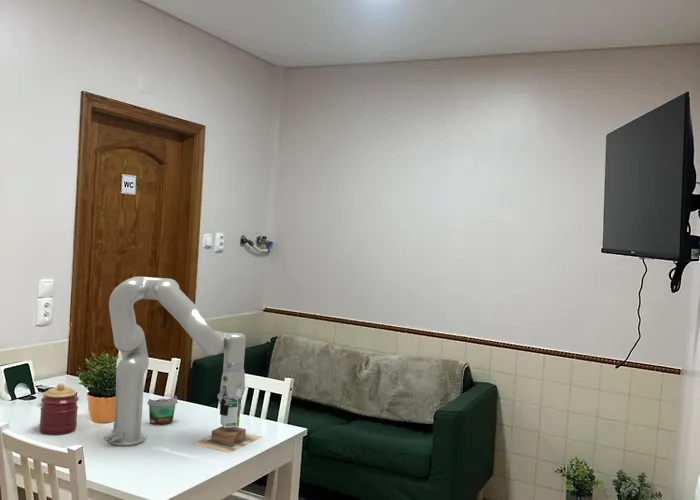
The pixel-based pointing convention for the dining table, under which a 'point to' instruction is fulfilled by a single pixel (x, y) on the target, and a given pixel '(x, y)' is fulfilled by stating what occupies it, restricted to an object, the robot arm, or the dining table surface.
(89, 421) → the dining table surface
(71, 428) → the canister
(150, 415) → the food container
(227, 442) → the base block
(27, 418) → the dining table surface
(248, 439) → the build plate
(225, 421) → the syrup box
